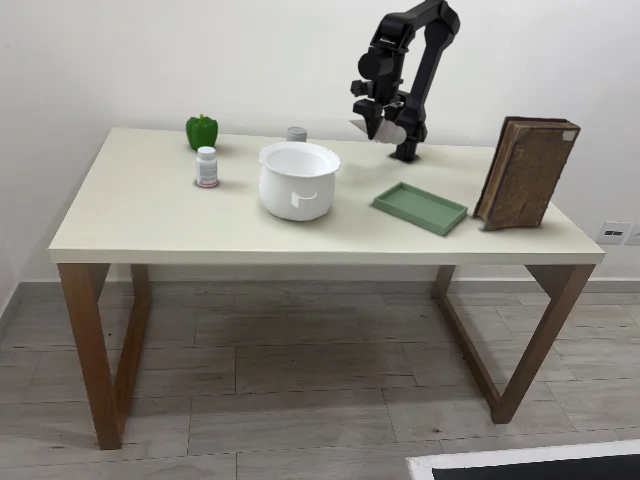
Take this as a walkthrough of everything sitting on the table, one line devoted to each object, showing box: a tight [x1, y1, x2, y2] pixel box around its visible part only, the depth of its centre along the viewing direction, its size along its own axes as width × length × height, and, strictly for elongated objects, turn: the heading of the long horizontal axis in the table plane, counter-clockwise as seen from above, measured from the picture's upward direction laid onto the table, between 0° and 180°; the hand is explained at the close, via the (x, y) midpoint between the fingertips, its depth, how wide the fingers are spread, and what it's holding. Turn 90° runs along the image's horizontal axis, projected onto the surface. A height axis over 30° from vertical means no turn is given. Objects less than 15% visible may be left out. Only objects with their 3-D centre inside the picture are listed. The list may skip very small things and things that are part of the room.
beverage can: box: [285, 126, 308, 143], centre depth 123 cm, size 5×5×12 cm
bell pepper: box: [185, 113, 219, 152], centre depth 131 cm, size 8×8×10 cm
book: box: [471, 115, 582, 231], centre depth 110 cm, size 17×7×25 cm, turn 99°
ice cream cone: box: [348, 118, 406, 146], centre depth 123 cm, size 6×6×15 cm
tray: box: [372, 181, 469, 236], centre depth 117 cm, size 13×18×2 cm
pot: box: [258, 141, 342, 222], centre depth 109 cm, size 22×17×12 cm
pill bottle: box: [195, 147, 218, 188], centre depth 115 cm, size 5×5×8 cm
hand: (377, 136), depth 125 cm, fingers closed on ice cream cone, 7 cm apart
